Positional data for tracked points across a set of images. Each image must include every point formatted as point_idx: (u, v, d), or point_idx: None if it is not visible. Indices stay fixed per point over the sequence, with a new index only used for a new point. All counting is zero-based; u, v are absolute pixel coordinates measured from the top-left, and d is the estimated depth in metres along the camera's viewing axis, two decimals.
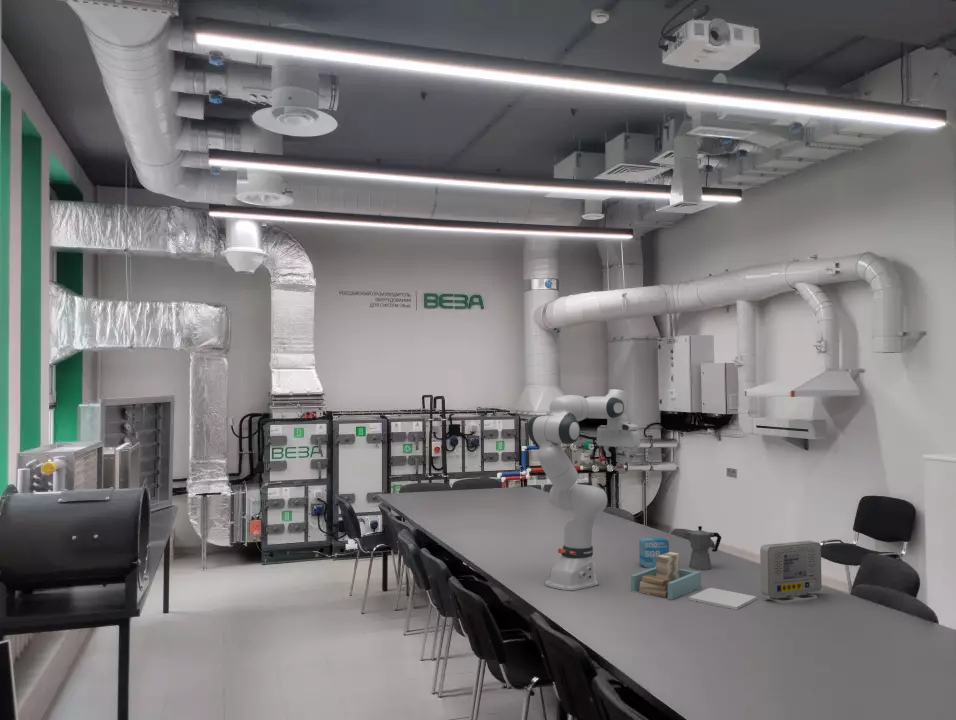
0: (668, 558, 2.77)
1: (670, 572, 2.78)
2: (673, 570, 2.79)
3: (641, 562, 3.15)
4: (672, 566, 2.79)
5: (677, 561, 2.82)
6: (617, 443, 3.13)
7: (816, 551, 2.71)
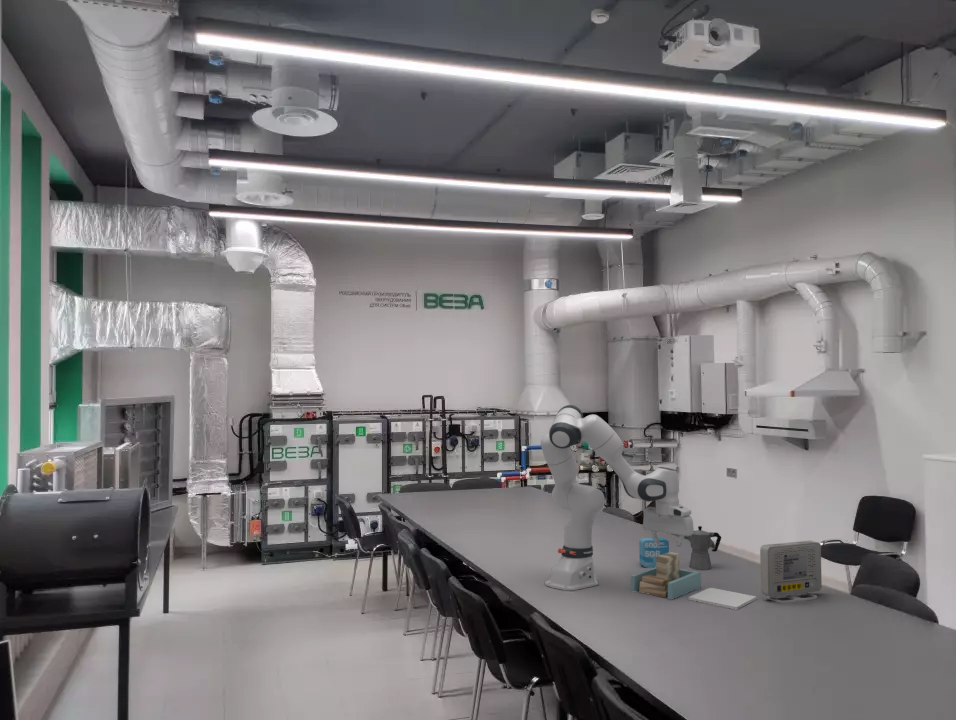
0: (668, 558, 2.77)
1: (670, 572, 2.78)
2: (673, 570, 2.79)
3: (641, 562, 3.15)
4: (672, 566, 2.79)
5: (677, 561, 2.82)
6: (668, 530, 2.79)
7: (816, 551, 2.71)
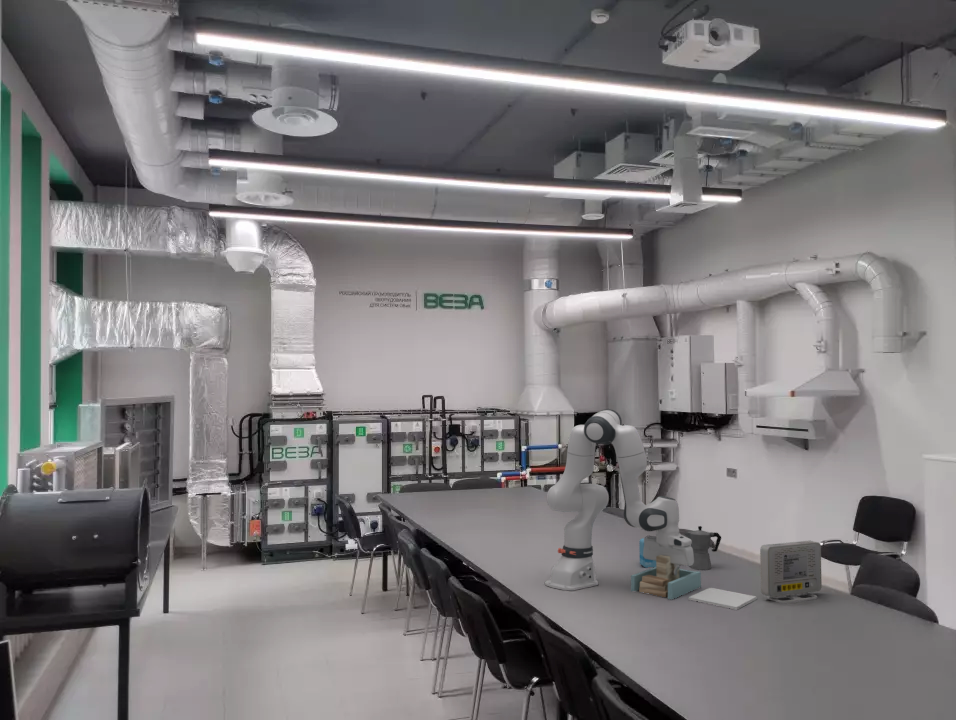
0: (668, 558, 2.77)
1: (670, 572, 2.78)
2: None
3: (641, 562, 3.15)
4: (672, 566, 2.79)
5: None
6: None
7: (816, 551, 2.71)
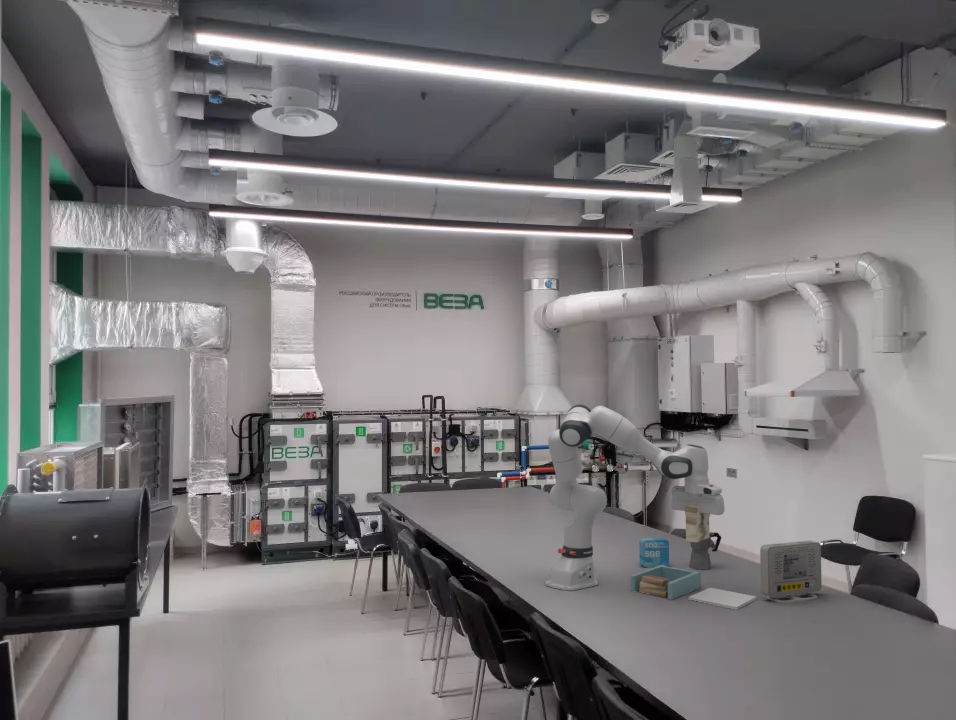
0: (698, 507, 2.68)
1: (700, 522, 2.69)
2: None
3: (641, 562, 3.15)
4: (702, 515, 2.71)
5: None
6: None
7: (816, 551, 2.71)
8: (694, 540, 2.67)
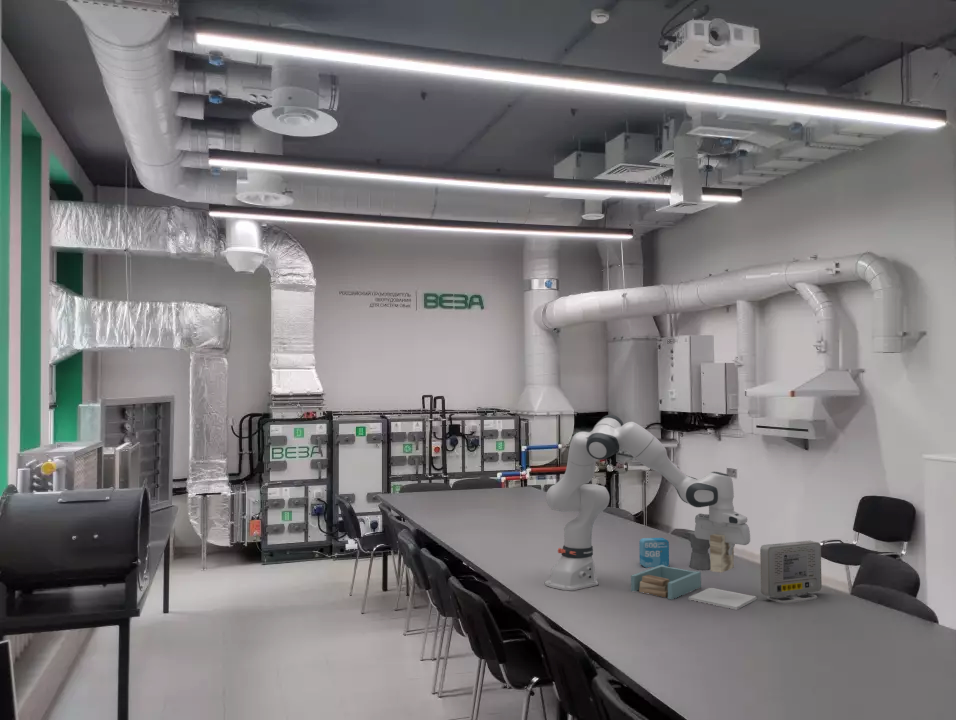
0: (723, 537, 2.62)
1: (725, 552, 2.63)
2: (727, 549, 2.65)
3: (641, 562, 3.15)
4: (727, 545, 2.64)
5: None
6: None
7: (816, 551, 2.71)
8: (719, 570, 2.60)
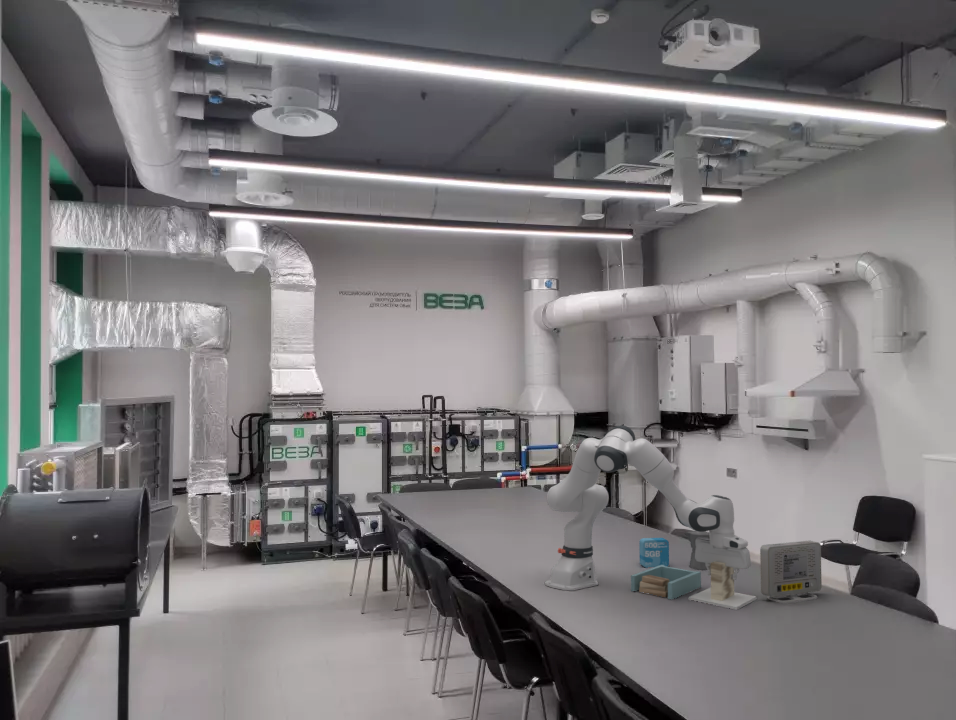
0: (723, 565, 2.62)
1: (725, 580, 2.63)
2: (728, 577, 2.65)
3: (641, 562, 3.15)
4: (727, 573, 2.64)
5: (732, 567, 2.67)
6: (723, 562, 2.64)
7: (816, 551, 2.71)
8: (719, 598, 2.60)
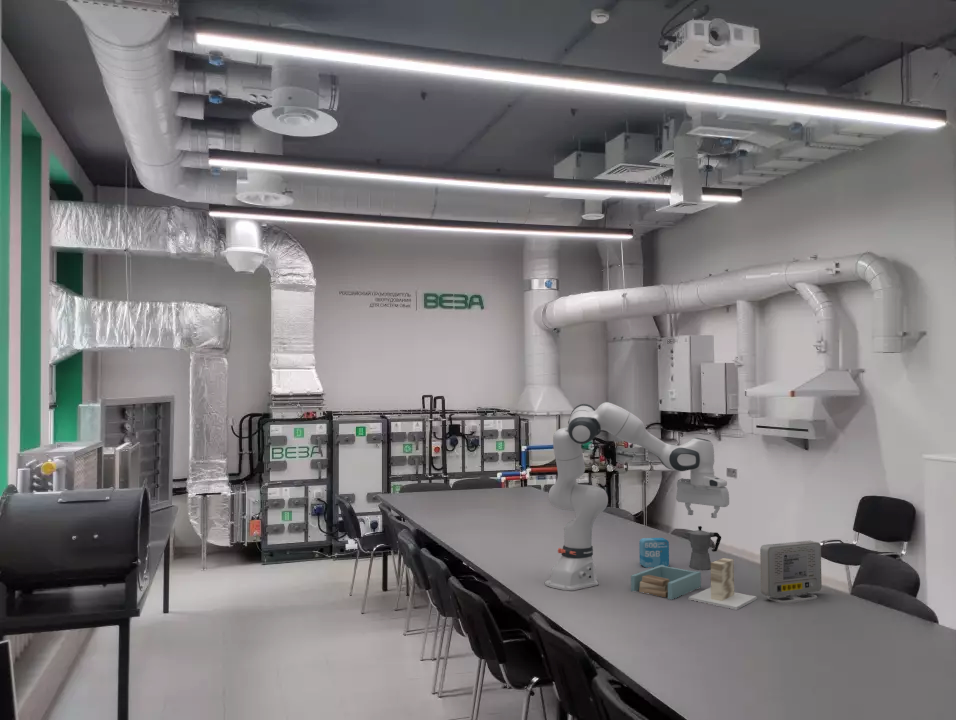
0: (723, 565, 2.62)
1: (725, 580, 2.63)
2: (728, 577, 2.65)
3: (641, 562, 3.15)
4: (727, 573, 2.64)
5: (732, 567, 2.67)
6: (703, 501, 2.75)
7: (816, 551, 2.71)
8: (719, 598, 2.60)
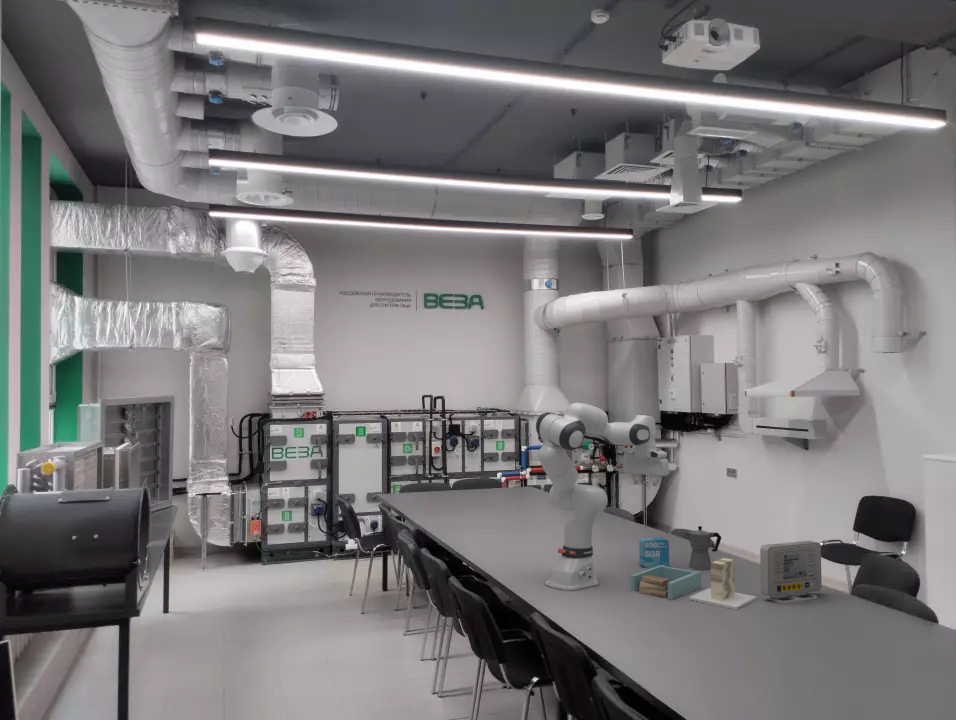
0: (723, 565, 2.62)
1: (725, 580, 2.63)
2: (728, 577, 2.65)
3: (641, 562, 3.15)
4: (727, 573, 2.64)
5: (732, 567, 2.67)
6: (645, 471, 3.03)
7: (816, 551, 2.71)
8: (719, 598, 2.60)
